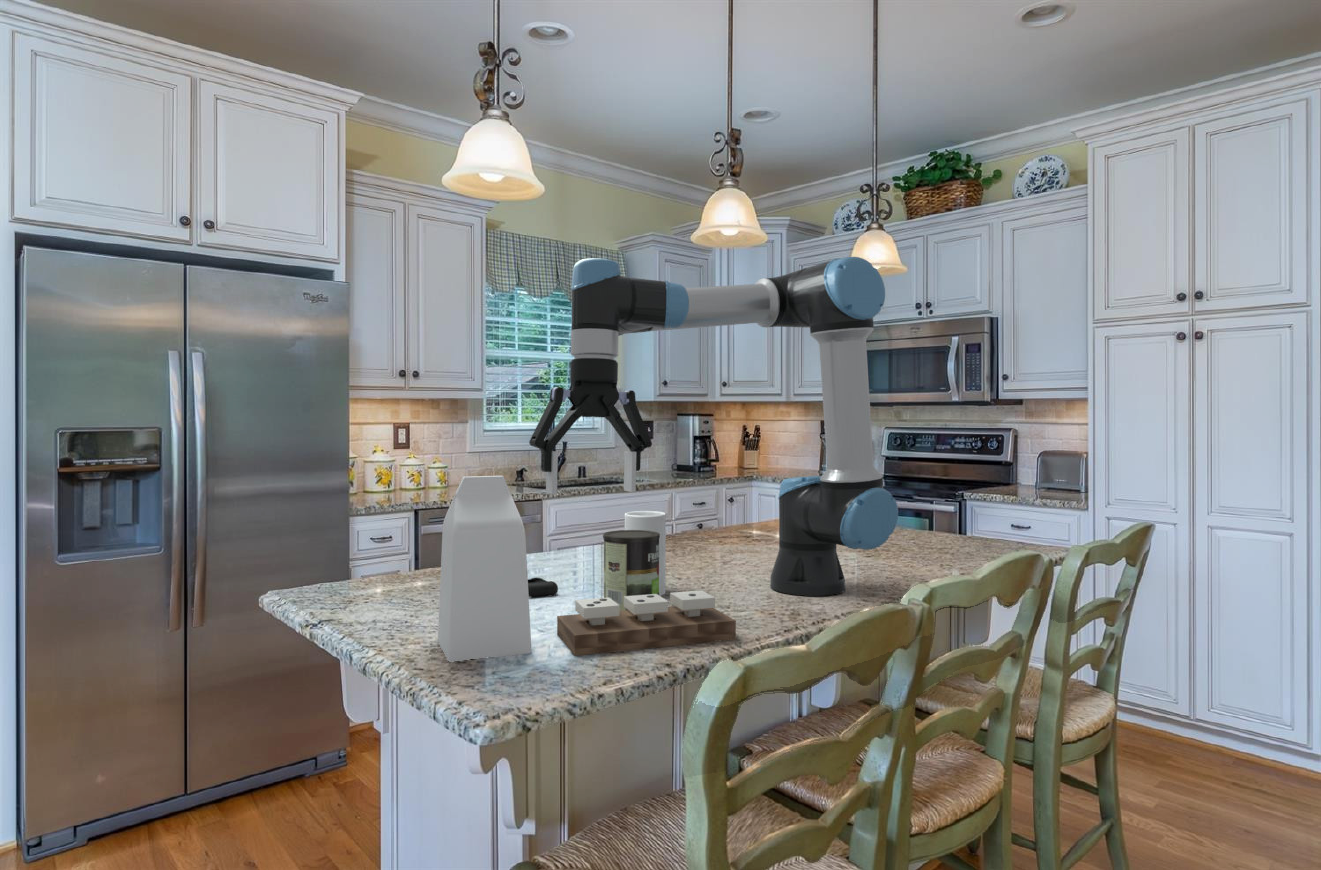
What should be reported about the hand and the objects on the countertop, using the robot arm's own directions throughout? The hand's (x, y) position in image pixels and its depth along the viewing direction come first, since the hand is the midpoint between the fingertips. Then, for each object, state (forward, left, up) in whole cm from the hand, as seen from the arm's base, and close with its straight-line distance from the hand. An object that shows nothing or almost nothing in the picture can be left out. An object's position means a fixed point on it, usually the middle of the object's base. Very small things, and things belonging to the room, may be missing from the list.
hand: (591, 492), depth 123 cm
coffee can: (-11, -14, -23) cm, 29 cm away
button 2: (-8, +3, -21) cm, 22 cm away
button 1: (-16, +3, -21) cm, 26 cm away
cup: (-18, -27, -23) cm, 40 cm away
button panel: (-8, +3, -23) cm, 25 cm away
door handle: (+9, -36, -24) cm, 44 cm away
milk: (+17, 0, -23) cm, 29 cm away
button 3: (0, +3, -20) cm, 21 cm away
